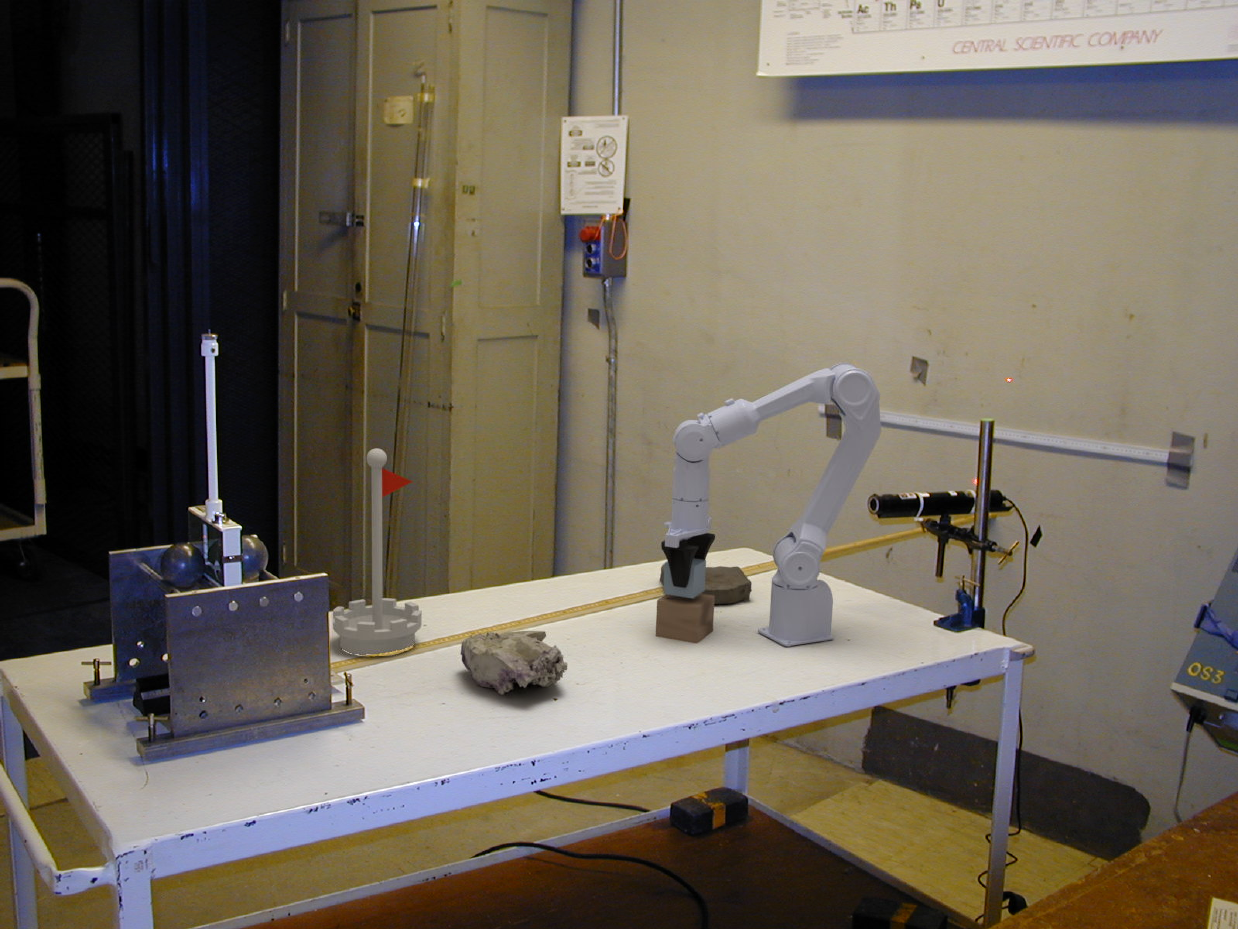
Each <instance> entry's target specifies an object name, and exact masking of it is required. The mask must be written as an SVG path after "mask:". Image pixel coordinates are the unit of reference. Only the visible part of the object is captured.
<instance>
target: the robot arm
mask: <svg viewBox="0 0 1238 929" xmlns="http://www.w3.org/2000/svg"><path fill="white" fill-rule="evenodd" d="M880 399H881V393H880V390H879V389H878V387H877V384H876V382H875V381H874V378H873V377H872V376H871V375H870V373H869V372H867V371H866V370H865V369H862V368H859V367H857V366H856V365H855V364H853V363H850V362H841V363H836V364H834V365H833V366H831V367H830V368H828V367H826V368H822V369H820V370H817V371H815V372H812V373H810V374H807V375H804V376H803V377H801V378H799V379H797V380H795V381H793V382H791V383H789V384H787V385H784V386H783V387H780V388H779V389H777V390H775V391H773V392H771V393H769V394H767V395H765V396H763V397H761V398H759V399H757V400H755V401H748V400H746V399H743V398H739V399H736V400H734V398H729V399H727V400H725V402H724V403H725V405H723V406H721V407H719V408H717V409H715V410H712V411H710V412H708V413H705V414H704V412H700V413H698V414H697V415H696V417H697V419H698V420H696V419H695V420H694V419H688V420H685V421H682V422H681V423H680V424H679V425H678V426H677V428H676V429H675V432H674V434H673V436H672V441H673V446H674V447H675V450H676V451H675V455H674V458H673V463H674V467H673V469H672V488H671V489H672V492H671V518H670V521H669V520H668V521H665V522H664V523H663V528H665V529H668V530H667V533H665V534H664V535H665V536H664V540H663V541H661V544H660V547H661V550H662V551H663V554H664V555H665V558H666V560H667V561H668V564H669V568H670V572H671V578H672V582H673V586H675V587H682V588H686V587H687V585H688V581H689V576H690V570H691V565H692V561H693V558H695V559H702V560H706V559H707V557H708V554H709V551H710V549H711V546H712V544H713V543H714V541H715V539H716V534H715V533H710V532H709V531H710V530H712V521H713V518H712V517H710V516H709V504H710V503H709V502H710V500H709V499H710V483H711V482H710V478H711V469H710V455H711V454H712V453H713V451H714V449H719V450H720V449H721V448H725V447H726V446H729V445H731V444H733V443H736V442H738V441H740V440H742V439H744V438H747V437H749V436H750V435H753V434H756V433H757V432H758V428H759V426H760V424H761V422H762V421H765V420H768V419H770V418H772V417H775V416H777V415H781V414H782V413H786V412H787V411H790V410H792V409H795V408H797V407H800V406H802V405H806V404H808V403H815V404H820V405H822V404H823V405H828V406H830V405H831V404H832V403H833V404H834V405H835V407H837V409H838V412H839V415H840V417H841V419H842V420H841V421H842V423H843V425H844V428H845V431H844V433H843V434H842V437H841V439H840V440H839V442H838V444H837V446H836V448H835V450H834V452H833V454H832V455H831V458H830V459H829V461H828V463H827V465H826V467H825V469H824V470H823V472H822V475H821V477H820V478H819V480H818V482H817V485H815V488H814V490H813V492H812V494H811V496H810V498H809V500H808V502H807V503H806V504H805V508H804V509H803V512H802V513H801V514H800V517H799V518H798V519H797V520H796V521H795V522H794V523H793V524H792V525H791V527H790V529H789V530H788V532H787V533H786V534H785V535H784V536H782V537H781V538H780V539H779V540H777V542H776V543H775V545H774V547H773V550H772V558H773V562H774V564H775V565H776V567H777V568H778V569H777V570H776V572H775V573H774V575H773V576H772V577H771V589H770V604H769V605H770V606H769V622H768V623H769V626H768V627H762V628H761V627H760V628H758V629H757V633H759V634H761V635H763V636H765V637H766V638H769V639H771V640H772V641H773V642H774V641H775V642H776V643H778V644H780V645H782V646H784V647H791V646H799V645H803V644H804V645H805V644H811V643H818V642H823V641H829V640H834V638H835V637H834V635H833V634H832V621H833V606H834V605H833V603H834V598H833V593H832V592H833V591H832V590H831V587H830V586H829V584H828V583H827V582H826V581H825V580H822V579H818V578H819V576H820V572H821V560H822V557H823V554H824V553H825V551H826V546H827V541H828V536H829V533H830V531H831V529H832V527H833V526H834V524H835V522H836V520H837V518H838V516H839V514H840V512H841V511H842V509H843V507H844V504H845V503H846V500H847V499H848V497H849V495H850V493H851V492H852V489H853V488H854V486H855V484H856V482H857V480H858V478H859V476H860V474H861V472H862V470H863V469H864V467H865V465H866V463H867V462H868V460H869V457H870V455H871V454H872V452H873V450H874V448H875V447H876V444H877V442H878V440H879V438H880V437H881V436H880V435H881V433H882V425H881V422H882V421H881V411H880ZM831 402H832V403H831ZM667 561H666V562H667Z"/></svg>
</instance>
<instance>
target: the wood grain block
mask: <svg viewBox="0 0 1238 929" xmlns="http://www.w3.org/2000/svg"><path fill="white" fill-rule="evenodd" d="M714 598H715V596H713V595H707V594H699V595H697V596H696V597H694V598H687V597H681V596H674V595H668V594H664V595H663V596H661V597H660V598H658V599H657V600H656V617H655V618H656V622H655V637H658V638H664V639H670V640H676V641H681V642H685V643H692V644H699V643H700V642H701V641H703V640H704V639H705V638H706V637H707V636H709V635H710V634H711V633H712V632H714V617H715V616H714V613H715V604H714Z"/></svg>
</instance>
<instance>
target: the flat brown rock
mask: <svg viewBox="0 0 1238 929" xmlns="http://www.w3.org/2000/svg"><path fill="white" fill-rule="evenodd" d="M664 564H665V563H663V564H662V565H661V568H660V578H659V581H660V583H661V584H662V587H663V586H664ZM744 572H745V571H743V570H742V569H741V567H739V566H721V565H720V566H712V567H711V566H706V574H705V591H703V592H702V593H700V594H707V595H713V596H715V598H714V605H720V604H734V603H738V602H741V601H748V600H750V595H751V592H752V591H753V590H752V581H751V579H749V578H748V576H746V575H745V573H744Z"/></svg>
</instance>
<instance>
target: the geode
mask: <svg viewBox="0 0 1238 929" xmlns="http://www.w3.org/2000/svg"><path fill="white" fill-rule="evenodd" d="M545 638H547V632H546V631H543V630H520V631H508V632H503V633H502V632H501V633H497V632H493V631H487V632H486V633H485V634H482V632H479V633H478V634H476V635H473V636H472V635H470V636H469V637H466V638H465V639H464V640H462V641H461V645H460V646H461V647H460V648H461V649H460V655H461V661H462V664H463V666H464V667H465V669H466V670H467V671H469V673H470V674H471V677H472V678H473V680H475V683H476V685H477V686H478V687H482V688H488V689H493V688H494V689H495V690H496V691H498V692H497V693H498V694H499V695H503V696H504V695H505V693H509V691H511V690H514V683H515V684H518V686H519V687H520V688H521V687H523V688H524V689H526V688H527V686H528V685H529V684H532V685H533V686H536V685H539V686H541V687H542V688H545V687H546V688H549V687H550V686H551V685H552V684H557V683H558V681H561V678H562V679H563V678H564V677H563V676H564V673H566V671H567V670H568V662H566V661H564V654H562V651H561V649H559V647H557V644H555V645H554V646H551V645H548V644H547V643H545V642H543V641H544V639H545Z"/></svg>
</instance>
